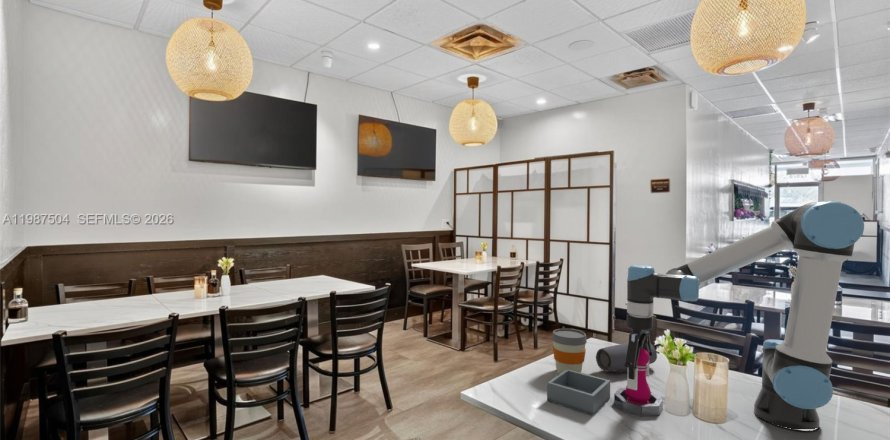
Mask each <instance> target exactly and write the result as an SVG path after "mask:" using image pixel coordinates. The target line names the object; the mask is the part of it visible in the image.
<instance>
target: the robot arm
mask: <svg viewBox="0 0 890 440" xmlns="http://www.w3.org/2000/svg"><path fill="white" fill-rule="evenodd" d="M864 230H865V221H864V218H863V216H862V215H861V214H860V212H859V211H858V210H856V209H855V207H852V206H851V205H849V204H847V203H843V202H841V201H834V200H823V201H813V202H809V203H805V204H803V205H800V206H799V207H797V208H796V209H794V210H792V211H790V212H789V213H786V214H785V215H783V216H781V217H779V218H777V219H775V220H772V221H771V224H770V226H768V227H766V228H763V229H761V230H759V231H756V232H754V233H753V234H750V235H747V236H746V237H743V238H741V239H739V240H736V241H734V242H732V243H730V244H728V245H726V246H723V247H721V248H717V250H714V251H712V252H709V253H708V254H705V255H703V256H701V257H698V258H696V259H694V260H692V261H689V262H687V263H686V264H682V265H681V266H678V267H674V268H671V269H670V270H667V272H665V273H659V272H658V273H657V272H655V268H654V267H653V266H650V265H644V264H634V265H633V264H632V265H630V266H629V267H628V268H627V279H626V281H627V283H626V286H627V287H626V289H627V291H626V295H627V296H626V297H627V298H626V300H627V301H626V302H625V303H624V304H625V305H626V313H627V314H626V326H627V327H628V328H631V330H632V332H631V333H629V334H628V342H627V343H628V350H627V356H626V363H625V364H624V366H625V367H627V372H626V373H627V374H626V375H627V376H626V386H627V388H629V389H633V390H637V375H638V368H637V362H638V358H639V353H640V349H642V348H643V349H645V350H646V351H647V352H648V353H649V355H650V356H652V352H651V351H652V350H651V344H652V343H651V336H650V334H651V333H650V330H652V329H653V327H654V317H653V316H654V298H657V299H665V300H666V299H667V300H675V301H683V302H697V301H698V300H699V296H700V295H699V293H700V285H702V284H705V283H707V282H709V281H712V280H714V279H716V278H719V277H721V276H723V275H727V274H729V273H731V272H733V271H736V270H738V269H741V268H743V267H745V266H747V265H748V266H749V265H750V264H753V263H755V262H758V261H760V260H762V259H765V258H767V257H771V256H772V255H774V254H777V253H779V252H783V251H784V250H791V251H794V252H795V253H796V254H797V256H798V261H797V267H796V273H795V277H794V284H793V289H792V294H791V299H790V300H791V301H790V305H789V311H788V317H787V322H786V328H785V334H784V340H782V339H765V340H764V341H763V345H762V348H761V350H762V366H761V367H762V372H761V373H762V375H761V378H762V379H761V389H760V391H759V392H758V395H757V397H756V399H755V401H754V404H753V413H754V414H755V415H756V416H757V415H758V416H759V417H761V418H762V419H761V418H760V419H761V420H763V419H764V420H766V421H768V422H767V423H769V422H770V423H769V424H771V423H773V424H775V425H774V426H776V425H779V426H782V427H787V428H791V429H815V428H818V427H819V428H820V421H821V420H820V417H819V413H818V411H817V409H819V408H823V407H824V406H826V405H827V404H829V402H831V400H832V398H833V395H834V388H833V384H832V381H831V380H830V376H831V371H832V364H833V359H832V358H831V357H830V356H829V354H828V353H827V348H828V343H829V342H828V341H829V335H830V333H831V332H830V331H831V327H832V321H833V316H834V309H835V304H836V300H837V294H838V289H839V283H840V278H841V272H842V269H843V268H842V266H843V263H844V262H845V261H847V260H849V259H851V258H852V257H853V252H854V248H855V243H857V242H858V241H859V240H860V238H861V237H862V236H863V234H864ZM650 356H649V357H650ZM630 363H632V364H630ZM647 365H648V366H647V368H648V369H647V370H646V377H650V364H649V362H648V363H647ZM758 416H757V417H758ZM759 417H758V418H759ZM764 420H763V421H764ZM766 421H765V422H766ZM773 424H772V425H773ZM779 426H778V427H779ZM782 427H781V428H782Z"/></svg>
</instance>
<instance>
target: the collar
mask: <svg viewBox="0 0 890 440" xmlns="http://www.w3.org/2000/svg"><path fill="white" fill-rule="evenodd" d="M613 394H614V396H613V399H614V400H613V402H614V404H615V405H616V406H617V407H618V408H619V409H620V410H621V411H622V412H625V413H628V414H631V415H635V416H638V417H656V416H657V417H658V416H660V414H661V412H663V407H664V406H663V405H664V403H663V402H664V399H663V398H661V397H660V396H659V395H657V394H656V393H655V392H653V391H651V397H650V399H649V400H648V401H649V404H638V403H635V402H631V401H628V400H627V398H628V395H627V394H626V387H620V388H618V389H617V390H616V391H615V392H614V393H613Z"/></svg>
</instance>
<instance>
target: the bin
mask: <svg viewBox="0 0 890 440" xmlns="http://www.w3.org/2000/svg"><path fill="white" fill-rule="evenodd" d="M546 383H547V384H546V388H547V389H546V401H547V402H548V403H552V404H554V405H555V404H556V405H559V406H561V407H564V408H568V409H571V410H573V411H574V410H575V411H577V412H581V413H583V414H587V415H590V416H593V417H594V416H595V415H596V414H597V413H598V412H599V410H601V409H602V408H603V407H604V405H606V403H607V402H608V401H609V400H610V399H611V380H610V379H606V378H603V377H602V378H601V377H600V376H599V377H598V376H594V375H590V374H587V373H583V372H581V373H580V372H576V371H572V370H568V369H566V370H565V371H563V372H562V373H560V374H557V375H556V376H555V377H553V378H552V379H551V380H549V381H548V382H546Z"/></svg>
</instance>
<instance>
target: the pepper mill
mask: <svg viewBox="0 0 890 440" xmlns="http://www.w3.org/2000/svg"><path fill="white" fill-rule="evenodd" d="M649 359H650V357H649V353H648V352H647V351H646V350H645V349H643V348H642V349H640V353H639V358H638V362H637V368H638V375H637V390H633V389H629V388H627V385H626V387H625V388H626V394H627V395H628V398H627V399H626V400H628V401H631V402H635V403H638V404H650V403H649V401H648V400H649V399H650V397H651V392H652V391H651V388H650V386H649V383H648V381H647V376H646V370H647V369H648V368H647V366H648V365H647V363H648V362H649ZM630 364H632V363H630Z"/></svg>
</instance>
